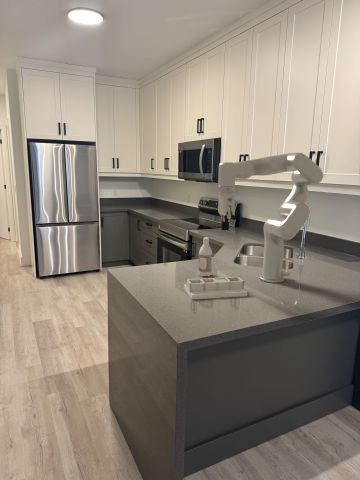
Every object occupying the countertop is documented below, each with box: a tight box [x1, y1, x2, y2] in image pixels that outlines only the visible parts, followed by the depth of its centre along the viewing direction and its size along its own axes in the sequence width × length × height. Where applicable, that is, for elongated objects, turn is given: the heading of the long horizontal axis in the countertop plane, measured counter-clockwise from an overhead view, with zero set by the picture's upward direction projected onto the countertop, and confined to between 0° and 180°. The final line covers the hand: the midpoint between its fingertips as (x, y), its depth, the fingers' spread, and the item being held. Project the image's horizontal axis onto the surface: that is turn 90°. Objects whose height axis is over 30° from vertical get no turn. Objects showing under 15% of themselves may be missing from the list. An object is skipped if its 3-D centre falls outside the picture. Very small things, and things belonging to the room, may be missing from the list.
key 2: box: [215, 279, 227, 282], centre depth 147 cm, size 4×4×2 cm
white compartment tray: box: [183, 276, 248, 300], centre depth 147 cm, size 25×14×6 cm, turn 102°
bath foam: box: [197, 236, 213, 277], centre depth 170 cm, size 7×7×20 cm
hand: (224, 229), depth 152 cm, fingers closed
